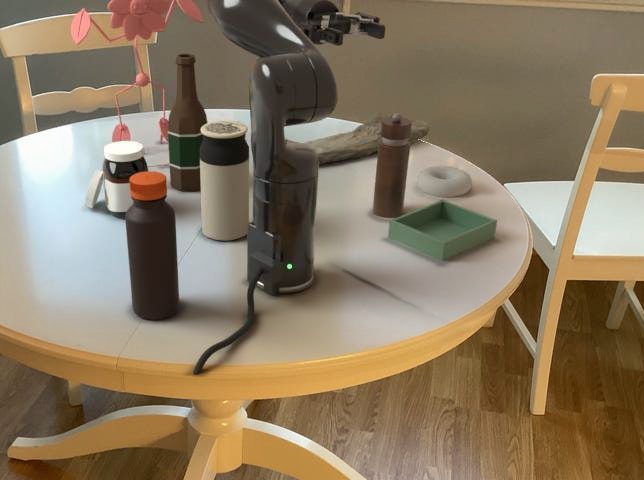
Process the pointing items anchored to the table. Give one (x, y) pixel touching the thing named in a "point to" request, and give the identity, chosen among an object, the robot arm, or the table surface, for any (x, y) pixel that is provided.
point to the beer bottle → (185, 129)
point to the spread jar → (117, 176)
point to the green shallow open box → (442, 229)
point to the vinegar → (152, 247)
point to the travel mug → (224, 180)
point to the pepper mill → (392, 167)
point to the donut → (444, 181)
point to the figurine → (136, 18)
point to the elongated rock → (360, 140)
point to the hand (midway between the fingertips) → (362, 35)
